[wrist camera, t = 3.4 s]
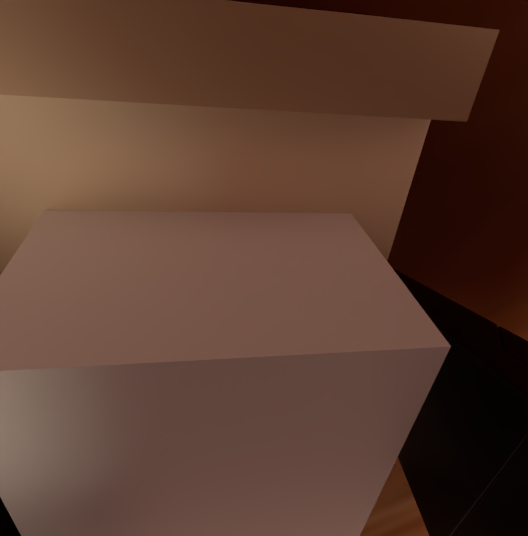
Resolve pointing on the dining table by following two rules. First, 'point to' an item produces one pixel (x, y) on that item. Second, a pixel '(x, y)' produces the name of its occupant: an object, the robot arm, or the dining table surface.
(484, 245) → the dining table surface
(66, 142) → the castle tower
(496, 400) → the robot arm
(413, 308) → the pale pink square block
